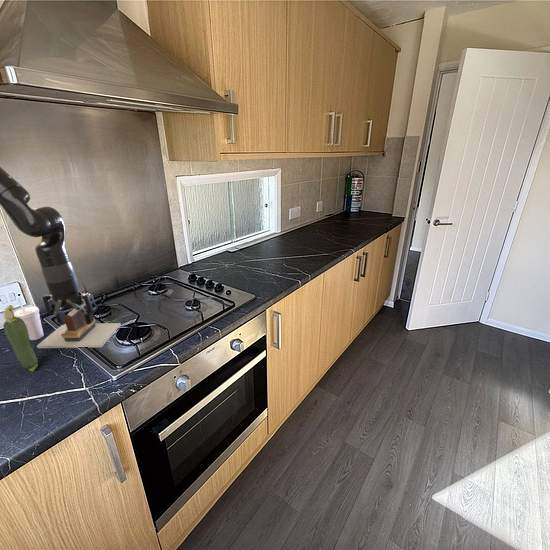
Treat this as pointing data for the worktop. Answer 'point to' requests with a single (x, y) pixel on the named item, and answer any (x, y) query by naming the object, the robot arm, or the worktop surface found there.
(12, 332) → the vegetable
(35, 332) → the smoothie
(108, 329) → the tile
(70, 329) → the brush
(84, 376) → the worktop surface
